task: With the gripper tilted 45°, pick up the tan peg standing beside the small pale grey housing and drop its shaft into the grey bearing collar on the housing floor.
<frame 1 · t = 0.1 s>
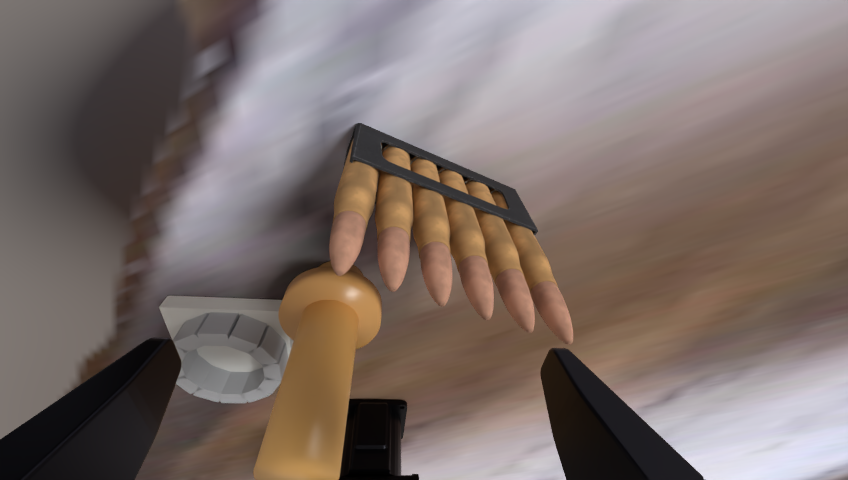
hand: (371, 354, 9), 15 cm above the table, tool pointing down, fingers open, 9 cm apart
tan peg: (339, 279, 26), on the table
ammunition clip: (435, 170, 22), on the table
housing: (240, 337, 29), on the table
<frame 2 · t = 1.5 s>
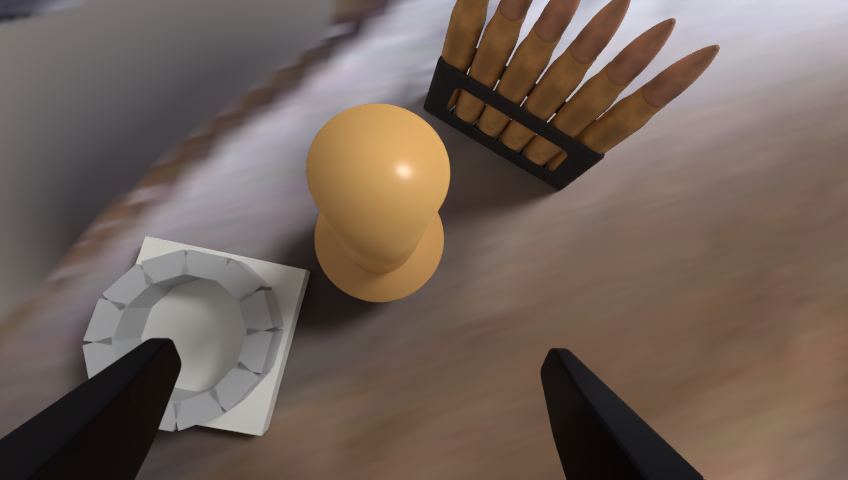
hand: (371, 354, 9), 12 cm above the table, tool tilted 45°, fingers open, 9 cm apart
tan peg: (380, 249, 22), on the table
ammunition clip: (497, 140, 24), on the table
housing: (212, 331, 20), on the table
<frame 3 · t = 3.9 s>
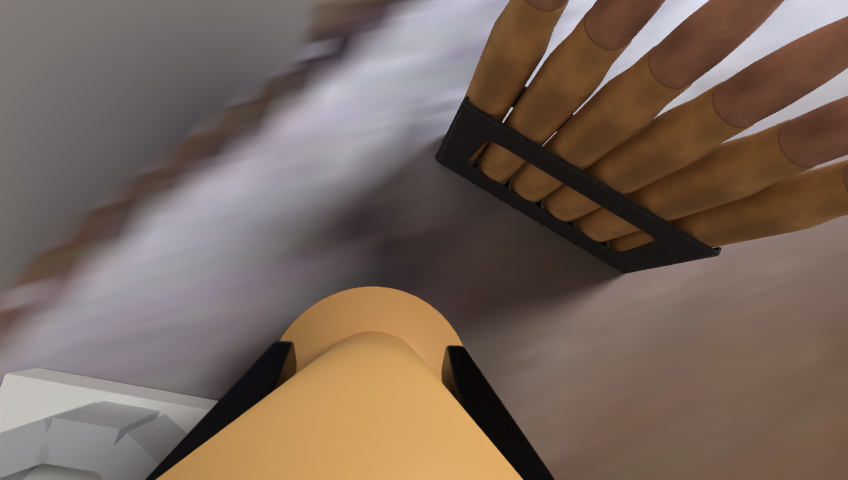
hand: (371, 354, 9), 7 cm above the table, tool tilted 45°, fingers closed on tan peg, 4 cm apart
tan peg: (373, 370, 15), on the table, touching gripper
ammunition clip: (536, 202, 17), on the table
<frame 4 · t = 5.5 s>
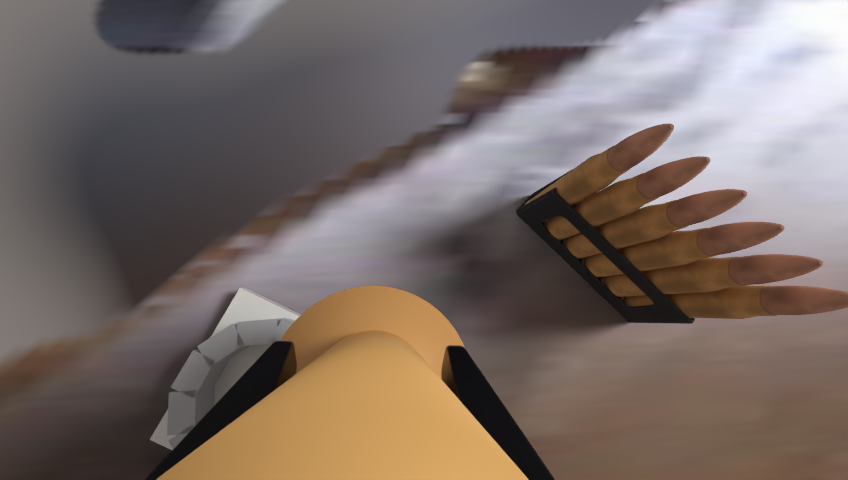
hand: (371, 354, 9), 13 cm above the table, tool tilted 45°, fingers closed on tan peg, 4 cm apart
tan peg: (373, 369, 15), point 7 cm above the table, touching gripper
ammunition clip: (578, 257, 25), on the table
housing: (275, 389, 21), on the table
when the fingers open (9 cm above the table, at t = 7.4 s): tan peg stays where it is, resting on housing.
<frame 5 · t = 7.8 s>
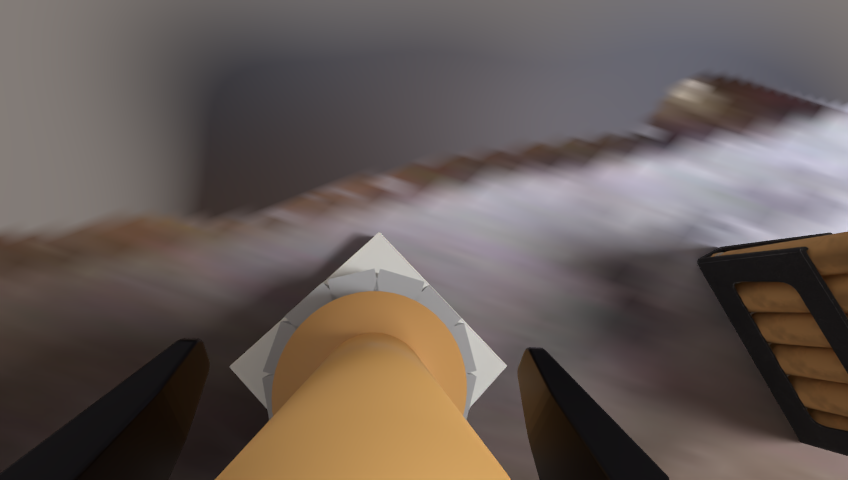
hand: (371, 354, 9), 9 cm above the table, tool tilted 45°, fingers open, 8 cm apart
tan peg: (373, 367, 16), point 1 cm above the table, touching housing
ammunition clip: (755, 340, 20), on the table
housing: (374, 362, 17), on the table
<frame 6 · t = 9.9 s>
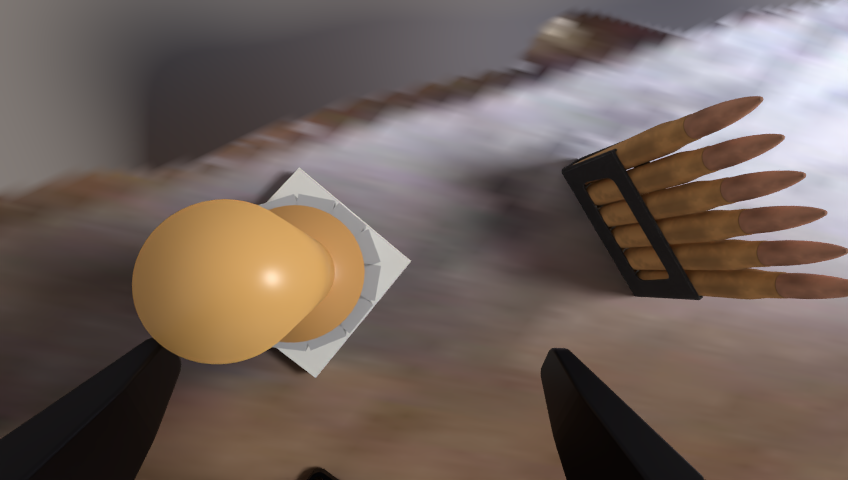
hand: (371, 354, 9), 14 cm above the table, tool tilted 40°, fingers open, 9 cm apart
tan peg: (307, 271, 21), point 1 cm above the table, touching gripper, housing
ammunition clip: (605, 227, 26), on the table
housing: (309, 270, 22), on the table
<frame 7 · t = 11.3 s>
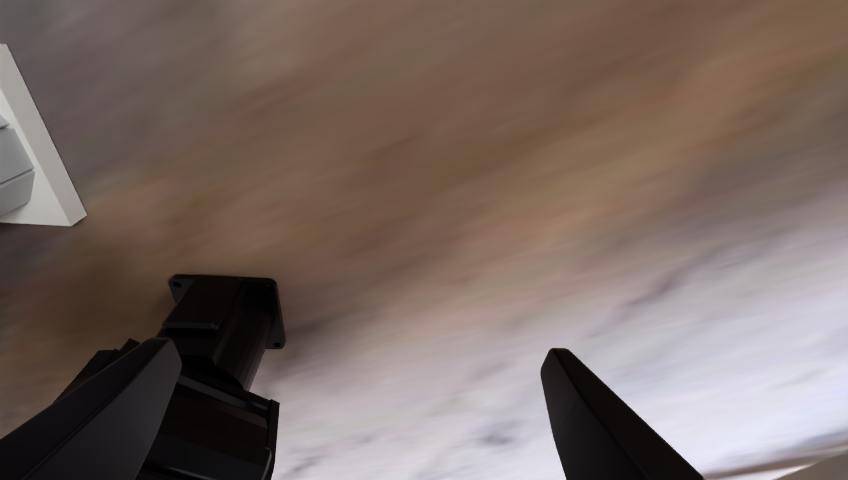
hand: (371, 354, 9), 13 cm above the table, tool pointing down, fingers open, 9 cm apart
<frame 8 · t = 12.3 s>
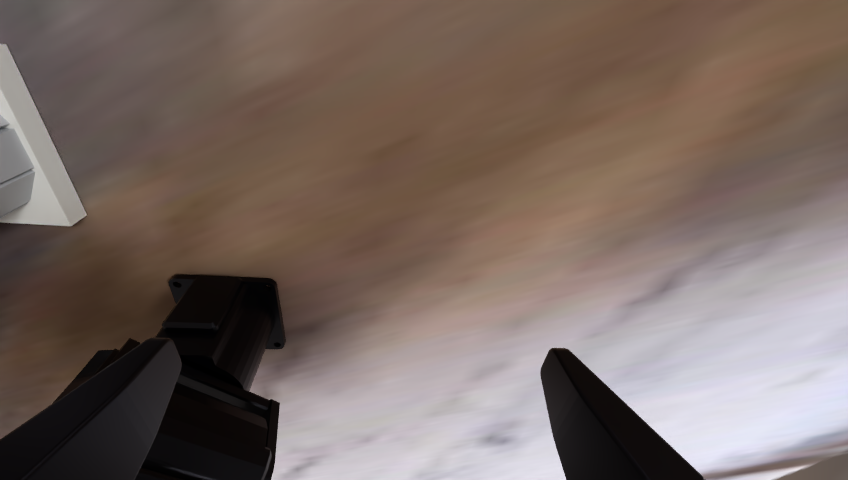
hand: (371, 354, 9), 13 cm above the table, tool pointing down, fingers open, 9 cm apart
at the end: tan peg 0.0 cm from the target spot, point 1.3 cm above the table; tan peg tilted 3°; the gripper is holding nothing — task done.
